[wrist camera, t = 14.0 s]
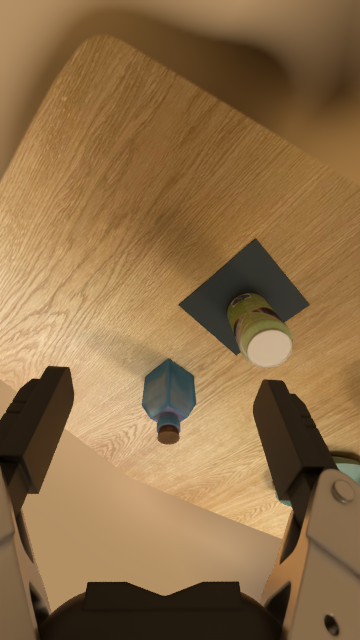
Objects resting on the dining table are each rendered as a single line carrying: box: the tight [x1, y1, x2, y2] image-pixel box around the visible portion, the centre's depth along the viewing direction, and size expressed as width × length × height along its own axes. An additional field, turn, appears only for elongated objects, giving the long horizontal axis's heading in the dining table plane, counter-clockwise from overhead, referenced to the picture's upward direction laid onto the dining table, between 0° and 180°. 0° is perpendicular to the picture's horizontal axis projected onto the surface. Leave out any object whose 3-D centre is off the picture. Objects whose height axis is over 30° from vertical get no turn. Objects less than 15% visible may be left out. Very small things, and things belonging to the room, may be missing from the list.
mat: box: [179, 239, 310, 355], centre depth 39 cm, size 14×14×1 cm
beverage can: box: [227, 293, 293, 368], centre depth 34 cm, size 6×7×12 cm
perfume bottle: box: [142, 358, 196, 444], centre depth 42 cm, size 6×6×12 cm
